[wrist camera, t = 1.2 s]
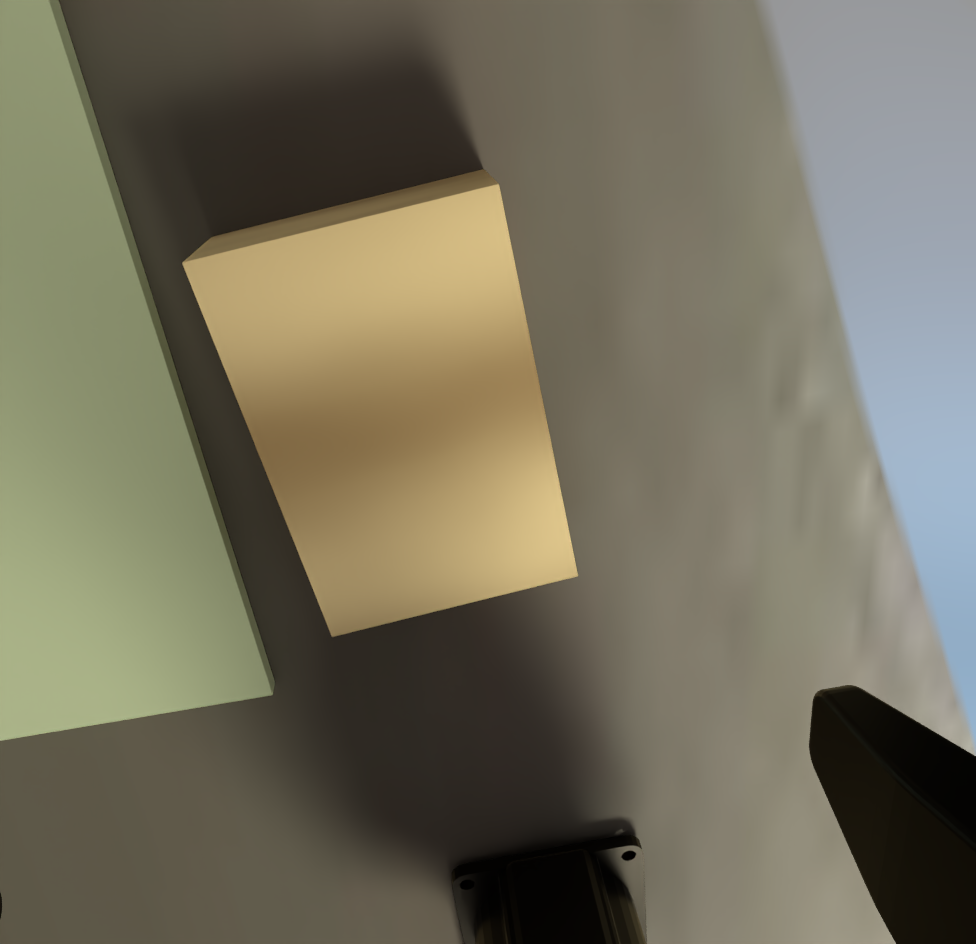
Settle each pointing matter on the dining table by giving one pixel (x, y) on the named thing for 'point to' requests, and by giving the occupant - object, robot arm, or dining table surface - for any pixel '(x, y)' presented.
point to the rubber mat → (96, 437)
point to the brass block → (393, 398)
